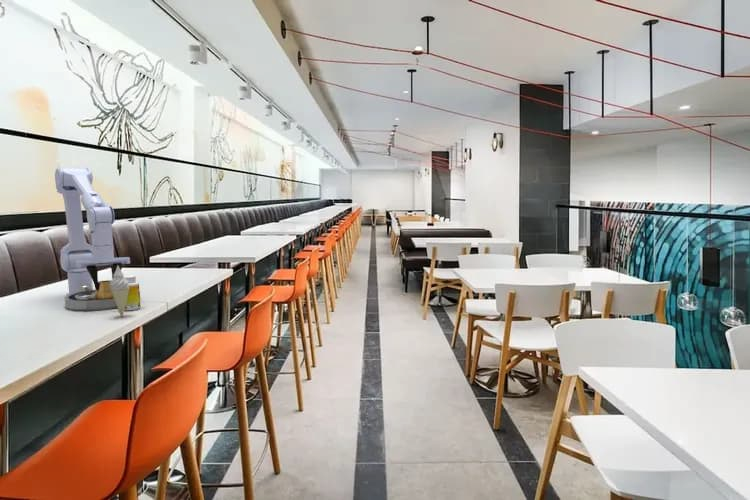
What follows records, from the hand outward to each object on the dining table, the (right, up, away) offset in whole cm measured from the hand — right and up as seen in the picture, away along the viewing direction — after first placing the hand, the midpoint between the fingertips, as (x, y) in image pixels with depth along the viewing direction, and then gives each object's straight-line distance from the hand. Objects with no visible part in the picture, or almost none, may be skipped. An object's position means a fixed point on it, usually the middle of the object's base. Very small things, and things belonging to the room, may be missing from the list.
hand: (105, 288), depth 155 cm
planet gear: (0, -3, 0) cm, 3 cm away
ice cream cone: (+11, -7, -12) cm, 18 cm away
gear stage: (-3, -5, +5) cm, 8 cm away
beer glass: (+9, -6, -3) cm, 12 cm away
